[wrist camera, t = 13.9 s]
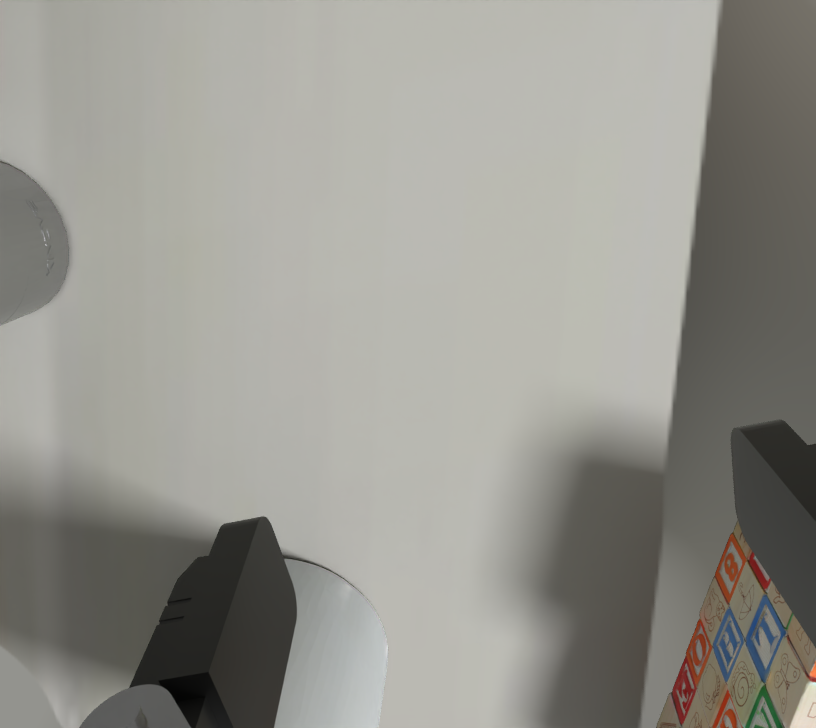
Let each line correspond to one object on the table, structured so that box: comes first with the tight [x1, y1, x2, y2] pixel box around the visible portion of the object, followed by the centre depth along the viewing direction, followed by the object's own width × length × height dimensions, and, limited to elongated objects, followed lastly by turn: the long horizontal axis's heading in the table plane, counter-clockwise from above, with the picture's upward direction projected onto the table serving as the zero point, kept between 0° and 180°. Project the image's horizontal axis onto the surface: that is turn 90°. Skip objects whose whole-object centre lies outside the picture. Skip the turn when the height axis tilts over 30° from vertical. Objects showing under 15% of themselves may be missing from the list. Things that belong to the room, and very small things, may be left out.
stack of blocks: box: [656, 521, 816, 728], centre depth 41 cm, size 21×6×12 cm, turn 169°
